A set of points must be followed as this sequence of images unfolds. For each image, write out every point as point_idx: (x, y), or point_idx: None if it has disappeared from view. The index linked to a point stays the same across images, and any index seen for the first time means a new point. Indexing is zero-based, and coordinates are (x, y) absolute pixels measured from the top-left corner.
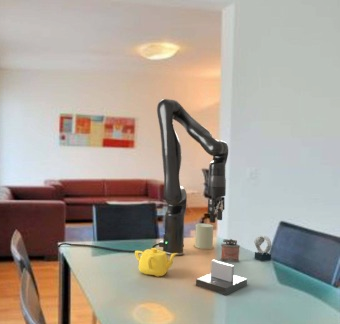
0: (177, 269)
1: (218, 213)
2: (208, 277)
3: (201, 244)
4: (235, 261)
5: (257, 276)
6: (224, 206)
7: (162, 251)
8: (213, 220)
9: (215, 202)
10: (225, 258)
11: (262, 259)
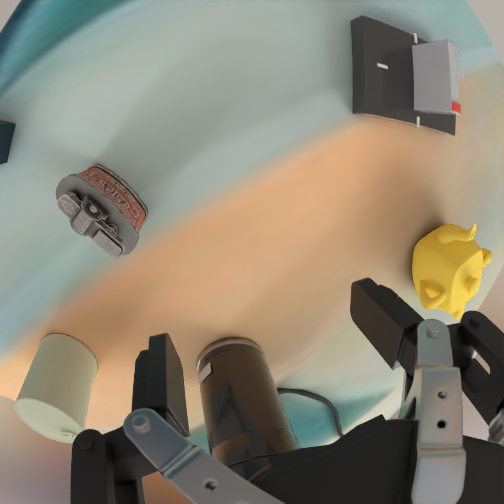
0: (375, 242)
1: (181, 410)
2: (432, 113)
3: (87, 363)
4: (109, 170)
5: (231, 16)
6: (71, 471)
7: (457, 276)
8: (386, 292)
9: (494, 442)
10: (138, 204)
11: (8, 123)
